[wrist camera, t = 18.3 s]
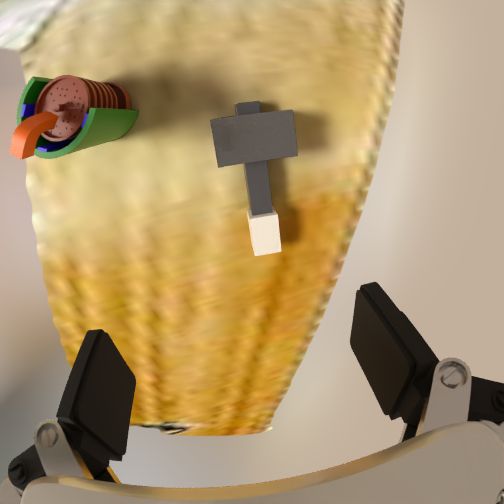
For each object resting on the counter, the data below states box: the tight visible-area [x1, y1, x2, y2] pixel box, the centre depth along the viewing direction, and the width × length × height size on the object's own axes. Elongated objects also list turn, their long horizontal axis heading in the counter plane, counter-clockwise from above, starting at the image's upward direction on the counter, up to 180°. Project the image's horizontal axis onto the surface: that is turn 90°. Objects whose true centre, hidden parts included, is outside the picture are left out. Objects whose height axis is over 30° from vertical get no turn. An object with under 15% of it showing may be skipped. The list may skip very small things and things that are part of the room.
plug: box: [235, 101, 281, 256], centre depth 39 cm, size 22×4×4 cm, turn 8°
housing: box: [210, 110, 298, 168], centre depth 34 cm, size 6×10×6 cm, turn 98°
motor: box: [10, 75, 138, 159], centre depth 24 cm, size 10×9×20 cm
